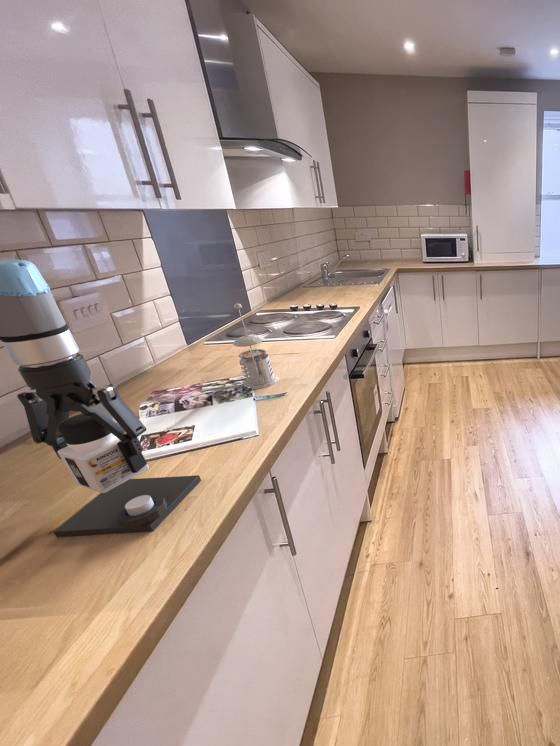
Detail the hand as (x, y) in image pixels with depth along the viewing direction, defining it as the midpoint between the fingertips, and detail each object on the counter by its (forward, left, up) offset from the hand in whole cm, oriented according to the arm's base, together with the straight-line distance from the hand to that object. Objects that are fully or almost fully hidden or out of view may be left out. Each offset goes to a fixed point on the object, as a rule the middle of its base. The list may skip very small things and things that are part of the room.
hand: (110, 469), depth 76 cm
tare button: (+8, -6, -5) cm, 11 cm away
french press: (+1, +53, -8) cm, 54 cm away
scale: (+3, -2, -7) cm, 8 cm away
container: (0, 0, -2) cm, 2 cm away
